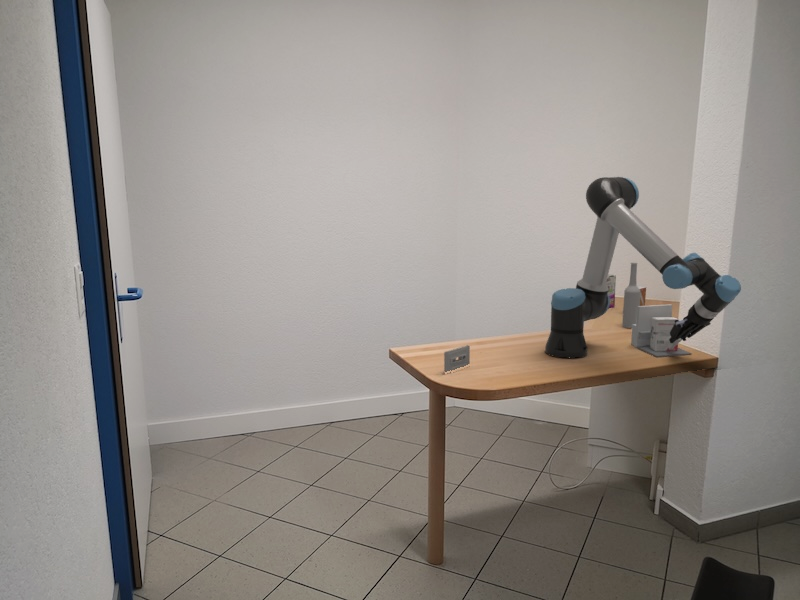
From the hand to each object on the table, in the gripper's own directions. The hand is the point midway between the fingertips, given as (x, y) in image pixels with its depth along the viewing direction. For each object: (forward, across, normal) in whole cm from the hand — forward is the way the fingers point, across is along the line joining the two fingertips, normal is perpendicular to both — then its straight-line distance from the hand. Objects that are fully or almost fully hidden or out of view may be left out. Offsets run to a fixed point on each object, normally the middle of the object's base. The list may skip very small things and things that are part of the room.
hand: (669, 345), depth 216 cm
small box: (+46, +26, +42) cm, 67 cm away
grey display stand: (+6, 0, +2) cm, 7 cm away
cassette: (+2, -80, -2) cm, 81 cm away
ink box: (+5, 0, +1) cm, 5 cm away
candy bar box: (+58, +19, +54) cm, 81 cm away
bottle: (+31, +10, +26) cm, 41 cm away
